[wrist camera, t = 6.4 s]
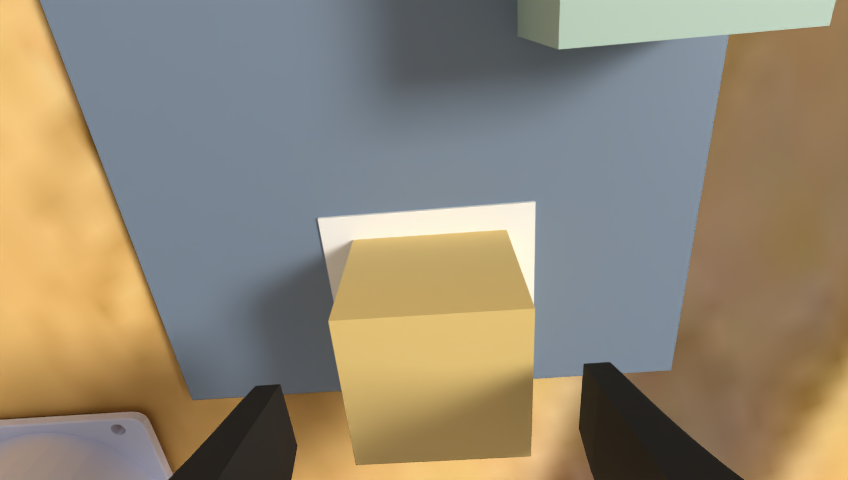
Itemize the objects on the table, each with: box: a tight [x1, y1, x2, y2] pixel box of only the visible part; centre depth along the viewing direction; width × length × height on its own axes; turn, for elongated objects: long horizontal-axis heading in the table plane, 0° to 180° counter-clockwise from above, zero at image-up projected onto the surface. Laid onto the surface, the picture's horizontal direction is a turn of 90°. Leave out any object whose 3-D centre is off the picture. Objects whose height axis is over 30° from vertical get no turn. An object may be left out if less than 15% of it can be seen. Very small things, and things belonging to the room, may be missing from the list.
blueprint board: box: [40, 0, 729, 400], centre depth 14 cm, size 17×17×1 cm
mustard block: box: [328, 230, 535, 465], centre depth 14 cm, size 5×5×4 cm
